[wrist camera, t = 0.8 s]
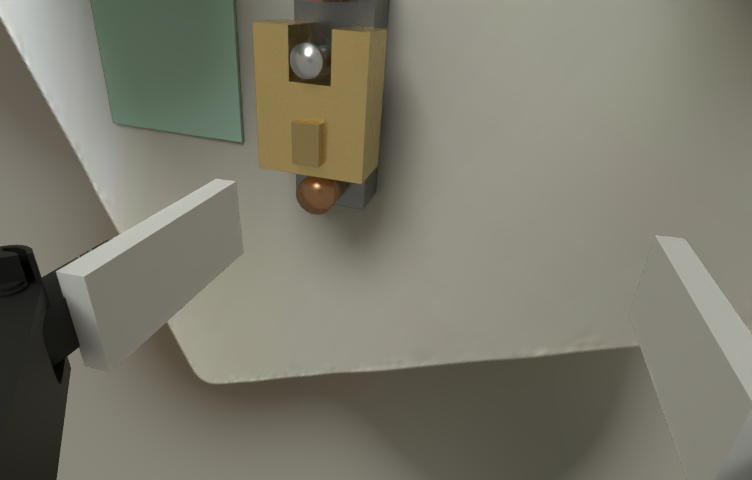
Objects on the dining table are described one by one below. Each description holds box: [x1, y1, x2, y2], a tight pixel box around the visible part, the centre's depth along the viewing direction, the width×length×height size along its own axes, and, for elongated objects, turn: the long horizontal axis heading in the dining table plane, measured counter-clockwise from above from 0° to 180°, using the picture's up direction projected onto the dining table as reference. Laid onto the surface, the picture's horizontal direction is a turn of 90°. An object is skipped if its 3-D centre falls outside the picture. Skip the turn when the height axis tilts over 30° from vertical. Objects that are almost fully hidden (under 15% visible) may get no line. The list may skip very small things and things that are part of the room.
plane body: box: [290, 0, 389, 214], centre depth 36 cm, size 18×6×9 cm, turn 176°
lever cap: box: [252, 19, 387, 184], centre depth 35 cm, size 10×8×5 cm
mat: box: [90, 0, 244, 142], centre depth 43 cm, size 14×14×1 cm
